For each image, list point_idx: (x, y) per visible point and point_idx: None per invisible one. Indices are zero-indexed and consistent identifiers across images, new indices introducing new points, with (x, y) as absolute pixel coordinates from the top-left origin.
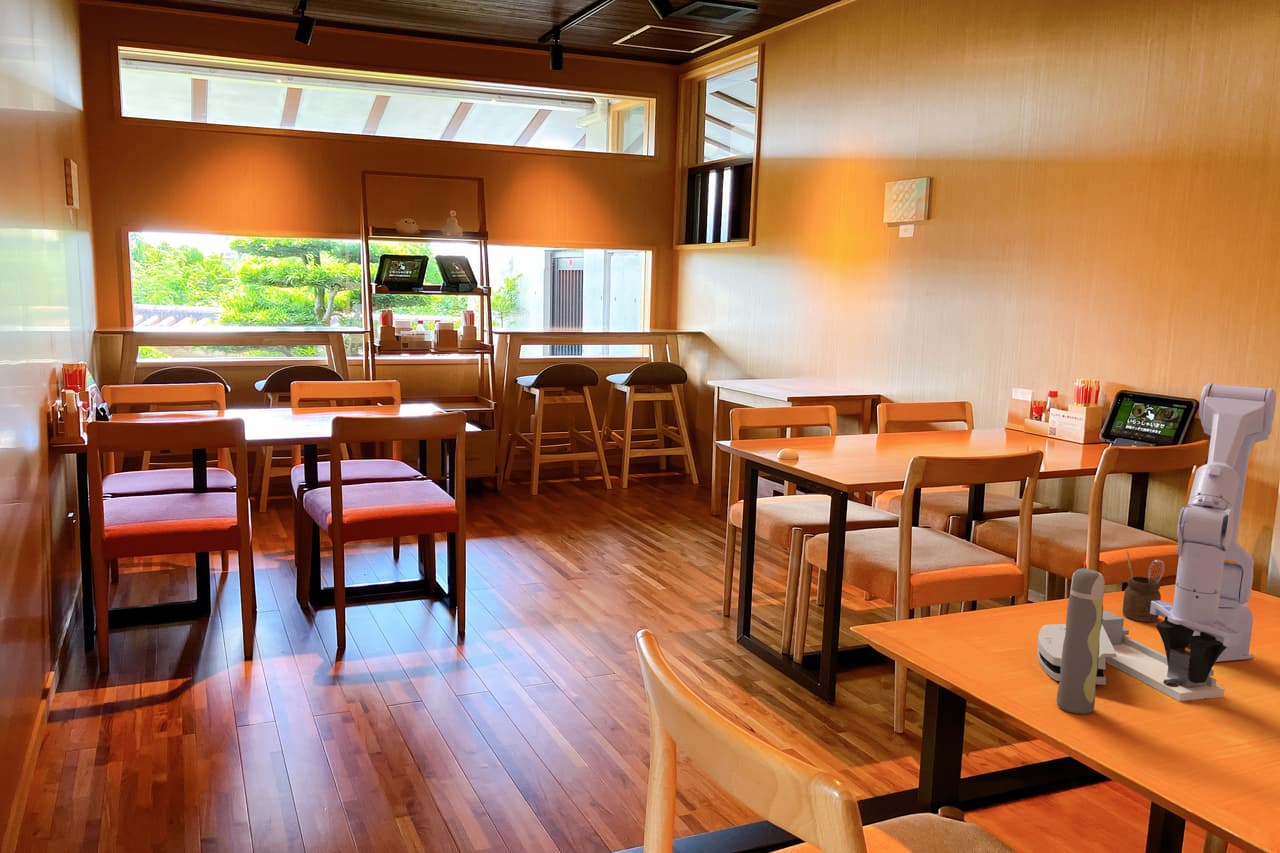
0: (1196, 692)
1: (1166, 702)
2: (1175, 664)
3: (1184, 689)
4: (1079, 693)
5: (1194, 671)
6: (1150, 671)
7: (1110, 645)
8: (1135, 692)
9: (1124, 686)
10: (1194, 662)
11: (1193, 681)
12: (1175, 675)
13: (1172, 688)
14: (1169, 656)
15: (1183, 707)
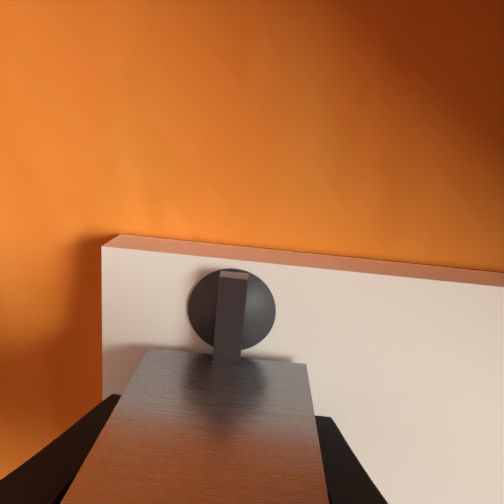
0: (105, 361)
1: (125, 146)
2: (244, 433)
3: (145, 323)
4: None
5: (58, 437)
6: (430, 359)
7: None
8: (298, 76)
9: (396, 85)
10: (12, 498)
11: (111, 396)
12: (237, 377)
13: (175, 264)
14: (324, 476)
15: (47, 186)
